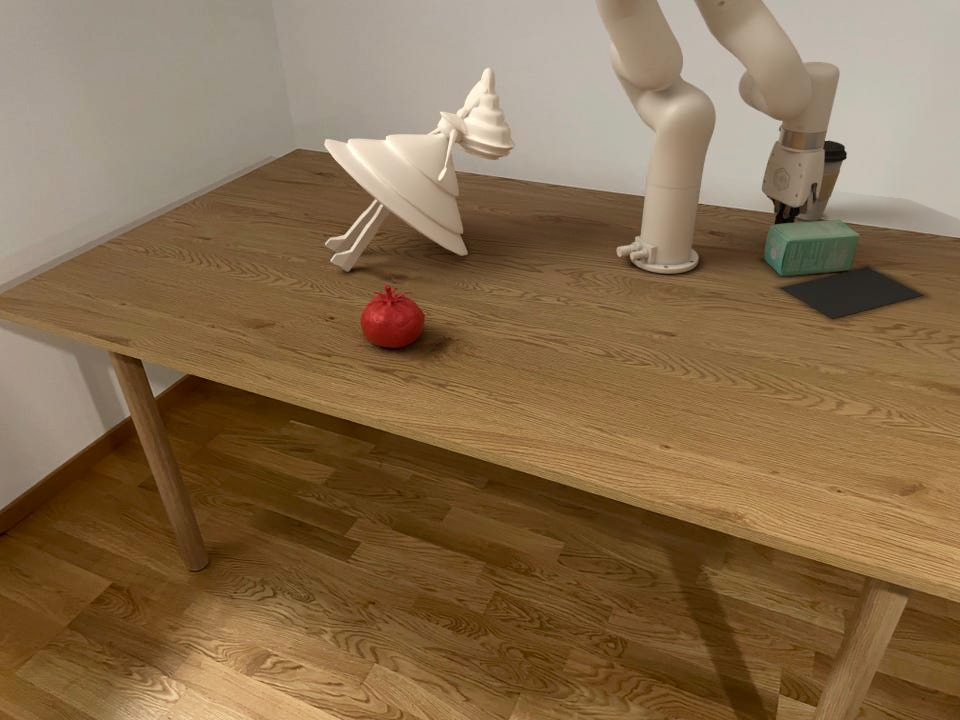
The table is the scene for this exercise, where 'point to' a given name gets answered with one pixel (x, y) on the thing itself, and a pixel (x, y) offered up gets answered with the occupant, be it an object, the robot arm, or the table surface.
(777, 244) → the box
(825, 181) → the coffee cup
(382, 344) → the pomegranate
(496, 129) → the figurine
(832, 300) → the mat
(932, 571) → the table surface
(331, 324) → the table surface
